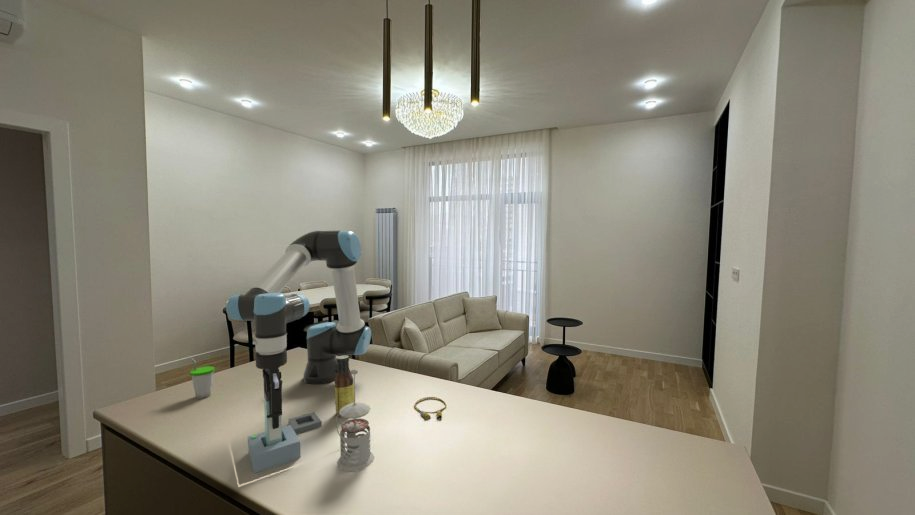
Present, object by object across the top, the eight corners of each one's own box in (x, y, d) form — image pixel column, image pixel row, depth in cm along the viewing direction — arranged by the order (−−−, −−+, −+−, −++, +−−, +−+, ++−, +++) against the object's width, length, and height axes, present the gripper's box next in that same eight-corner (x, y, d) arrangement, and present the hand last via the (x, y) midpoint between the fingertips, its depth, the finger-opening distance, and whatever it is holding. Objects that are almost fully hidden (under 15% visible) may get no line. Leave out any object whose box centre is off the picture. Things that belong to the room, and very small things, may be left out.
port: (291, 441, 107) (290, 423, 106) (300, 459, 98) (300, 439, 97) (248, 454, 100) (247, 435, 100) (254, 475, 91) (253, 454, 91)
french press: (354, 476, 91) (352, 378, 89) (324, 461, 97) (322, 369, 96) (381, 456, 99) (380, 366, 98) (352, 443, 105) (351, 359, 104)
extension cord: (405, 418, 121) (405, 412, 121) (420, 398, 136) (420, 393, 136) (440, 422, 118) (440, 416, 118) (451, 401, 133) (451, 396, 133)
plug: (279, 442, 101) (278, 388, 100) (282, 448, 98) (280, 392, 98) (265, 447, 99) (264, 391, 98) (267, 453, 96) (266, 396, 96)
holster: (314, 417, 121) (314, 411, 120) (321, 427, 114) (321, 421, 114) (288, 425, 116) (288, 419, 116) (294, 435, 109) (294, 429, 109)
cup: (219, 394, 139) (218, 356, 138) (196, 402, 132) (194, 362, 131) (210, 390, 143) (208, 353, 142) (187, 397, 136) (185, 358, 136)
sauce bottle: (358, 412, 124) (357, 355, 123) (346, 420, 119) (345, 361, 118) (344, 408, 127) (343, 353, 126) (331, 416, 121) (329, 358, 120)
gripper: (251, 346, 102) (253, 427, 103) (260, 361, 89) (263, 454, 90) (280, 341, 106) (282, 419, 107) (293, 355, 93) (295, 444, 94)
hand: (273, 435), depth 99 cm, fingers closed on plug, 3 cm apart
